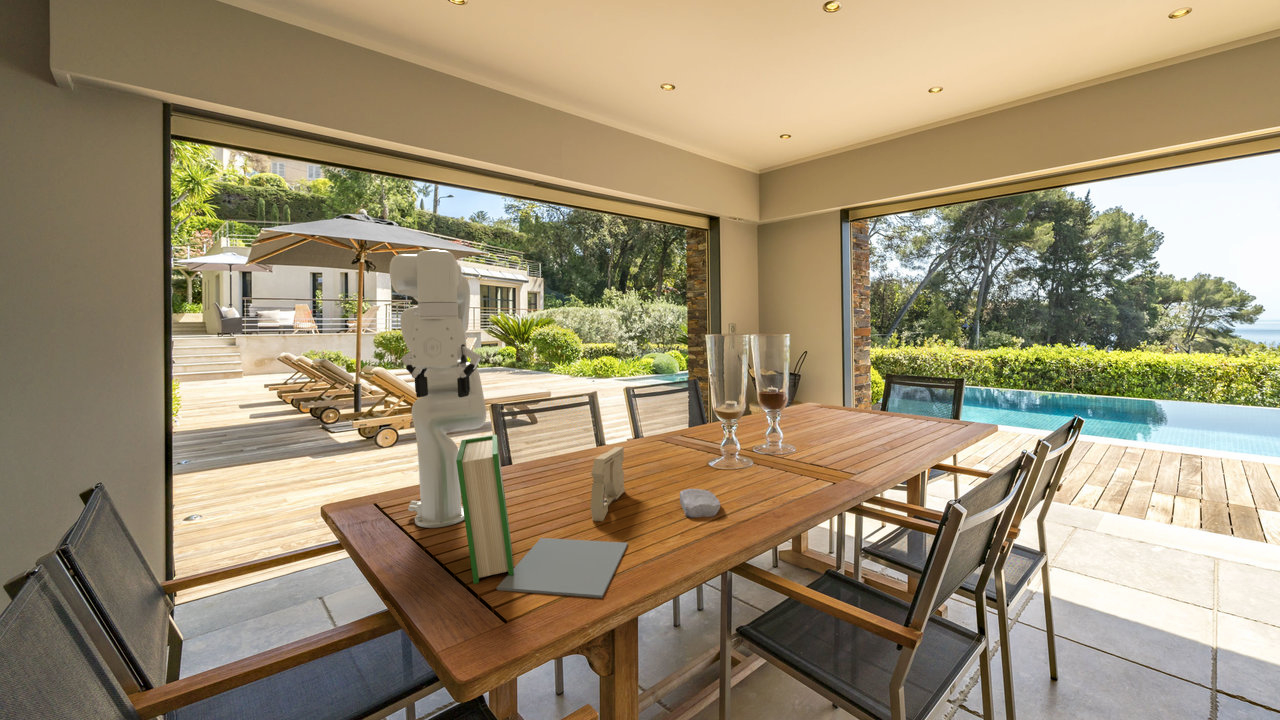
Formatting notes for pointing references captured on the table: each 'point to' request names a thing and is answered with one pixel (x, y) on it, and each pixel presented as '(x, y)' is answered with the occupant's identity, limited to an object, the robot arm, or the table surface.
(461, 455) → the hardback book
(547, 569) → the mat
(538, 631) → the table surface
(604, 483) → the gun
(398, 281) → the robot arm
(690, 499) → the stone block
